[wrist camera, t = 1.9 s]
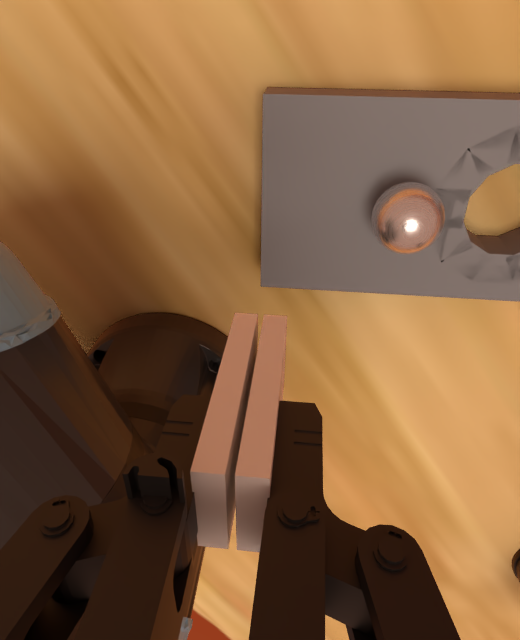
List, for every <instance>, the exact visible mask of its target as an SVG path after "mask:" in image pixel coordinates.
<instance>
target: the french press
mask: <svg viewBox="0 0 520 640" xmlns="http://www.w3.org/2000/svg"><path fill="white" fill-rule="evenodd" d="M512 568H513V571H514V574H515V575H516V577H517V578H518V579H519V582H520V550H519V551H518V552H517V553H516V554H515V556H514V558H513V560H512Z"/></svg>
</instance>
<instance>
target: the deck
mask: <svg viewBox="0 0 520 640" xmlns="http://www.w3.org/2000/svg"><path fill="white" fill-rule="evenodd" d="M514 164H520V93H497V92H454V91H412V90H369V89H326V88H283V87H268V88H267V89H266V90H265V92H264V93H263V130H262V216H261V287H278V288H295V289H312V290H330V291H347V292H364V293H382V294H399V295H416V296H433V297H451V298H468V299H485V300H503V301H520V227H519V228H517V229H515V230H512V231H510V232H507V233H505V234H502V235H500V236H481V235H474V234H473V233H471V232H470V231H468V230H467V229H466V227H465V225H464V222H463V221H464V217H465V213H466V209H467V205H468V201H469V197H470V196H471V195H472V194H473V193H474V192H475V190H476V189H477V188H478V187H479V186H480V185H481V184H482V182H483V181H484V180H485V179H486V178H487V177H488V176H489V175H492V174H494V173H496V172H498V171H500V170H503V169H505V168H507V167H509V166H511V165H514ZM404 182H417V183H421V184H424V185H426V186H428V187H430V188H431V189H433V190H434V191H435V192H436V193H437V194H438V195H439V197H440V198H441V200H442V203H443V205H444V209H445V223H444V227H443V229H442V232H441V234H440V235H439V237H438V238H437V240H436V241H435V242H434V243H433V244H432V245H430V246H429V247H428V248H426V249H424V250H422V251H420V252H417V253H413V254H399V253H395V252H392V251H390V250H388V249H386V248H385V247H384V246H382V245H381V244H380V243H379V241H378V240H377V239H376V237H375V235H374V233H373V230H372V225H371V215H372V211H373V208H374V205H375V203H376V201H377V200H378V198H379V197H380V196H381V195H382V194H383V193H384V192H385V191H386V190H388V189H389V188H391V187H392V186H394V185H397V184H400V183H404Z"/></svg>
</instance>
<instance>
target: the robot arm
mask: <svg viewBox="0 0 520 640" xmlns="http://www.w3.org/2000/svg"><path fill="white" fill-rule="evenodd" d="M60 315H61V312H60V310H59V309H58V307H57V304H56V303H55V301H54V300H53V299H52V298H51V297H49V296H47V295H45V294H44V293H43V291H42V290H41V289H40V287H39V286H38V285H37V283H36V282H35V281H34V279H33V278H32V277H31V275H30V274H29V273H28V271H27V270H26V269H25V267H24V266H23V265H22V263H21V262H20V261H19V259H18V258H17V257H16V255H15V254H14V253H13V252H12V251H11V250H10V249H9V248H8V247H7V246H6V245H5V244H4V243H2V242H1V241H0V640H187V637H188V633H189V631H190V630H191V628H192V621H193V620H191V614H192V609H193V604H194V599H195V595H196V590H197V585H198V580H199V575H200V570H201V566H202V561H203V556H204V551H205V547H214V548H224V549H228V548H229V542H230V536H231V530H232V524H233V518H234V512H235V506H236V534H237V550H243V551H253V552H260V554H259V562H258V570H257V579H256V587H255V595H254V603H253V611H252V619H251V627H250V635H249V640H325V615H327V616H329V617H332V618H334V619H336V620H338V621H340V622H342V623H344V624H346V628H347V632H348V636H349V640H461V639H460V637H459V635H458V632H457V630H456V628H455V625H454V623H453V621H452V619H451V616H450V614H449V612H448V609H447V607H446V605H445V602H444V600H443V598H442V595H441V593H440V591H439V589H438V586H437V584H436V582H435V579H434V577H433V575H432V572H431V570H430V568H429V565H428V563H427V561H426V559H425V556H424V554H423V552H422V550H421V548H420V546H419V545H418V543H417V542H416V540H415V539H414V538H413V537H412V536H410V535H409V534H408V533H407V532H406V531H404V530H402V529H400V528H397V527H395V526H392V525H377V526H373V527H370V528H369V529H367V530H366V531H365V530H362V529H360V528H357V527H355V526H353V525H350V524H348V523H346V522H344V521H342V520H340V519H339V518H338V517H337V516H336V515H334V514H333V513H332V512H331V510H330V509H329V508H328V506H327V504H326V502H325V500H324V495H323V453H322V416H321V414H320V412H319V410H318V409H317V407H316V405H315V403H303V402H290V401H282V397H283V386H284V371H285V350H286V329H287V316H281V315H265V314H264V318H263V324H262V329H261V335H260V340H259V346H258V351H257V342H258V314H249V313H235V314H234V318H233V322H232V325H231V329H230V332H229V336H228V338H227V337H226V336H225V335H223V334H222V333H221V332H219V331H218V330H216V329H214V328H212V327H211V326H209V325H207V324H205V323H202V322H200V321H197V320H195V319H192V318H188V317H185V316H180V315H175V314H167V313H147V314H140V315H135V316H131V317H128V318H126V319H123V320H121V321H119V322H117V323H115V324H113V325H112V326H110V327H109V328H108V329H107V330H105V331H104V332H103V333H102V334H101V336H100V337H99V338H98V339H97V341H96V342H95V344H94V345H93V347H92V348H91V350H90V351H89V352H88V354H87V355H86V353H85V352H84V350H83V349H82V347H81V346H80V344H79V343H78V341H77V340H76V338H75V337H74V335H73V334H72V332H71V331H70V329H69V328H68V326H67V325H66V323H65V322H64V320H63V319H62V317H61V316H60Z"/></svg>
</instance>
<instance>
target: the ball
mask: <svg viewBox="0 0 520 640" xmlns="http://www.w3.org/2000/svg"><path fill="white" fill-rule="evenodd" d="M444 223H445V209H444V205H443V203H442V200H441V198H440V197H439V195H438V194H437V193H436V192H435V191H434V190H433V189H431V188H430V187H428V186H426V185H424V184H421V183H417V182H404V183H400V184H397V185H394V186H392V187H391V188H389V189H388V190H386V191H385V192H384V193H383V194H382V195H381V196H380V197H379V198H378V200H377V201H376V203H375V205H374V208H373V211H372V215H371V225H372V230H373V233H374V235H375V237H376V239H377V240H378V241H379V243H380V244H381V245H382V246H384V247H385V248H386V249H388V250H390V251H392V252H395V253H399V254H413V253H417V252H420V251H422V250H424V249H426V248H428V247H429V246H430V245H432V244H433V243H434V242H435V241H436V240H437V238H438V237H439V235H440V234H441V232H442V229H443V227H444Z"/></svg>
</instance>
